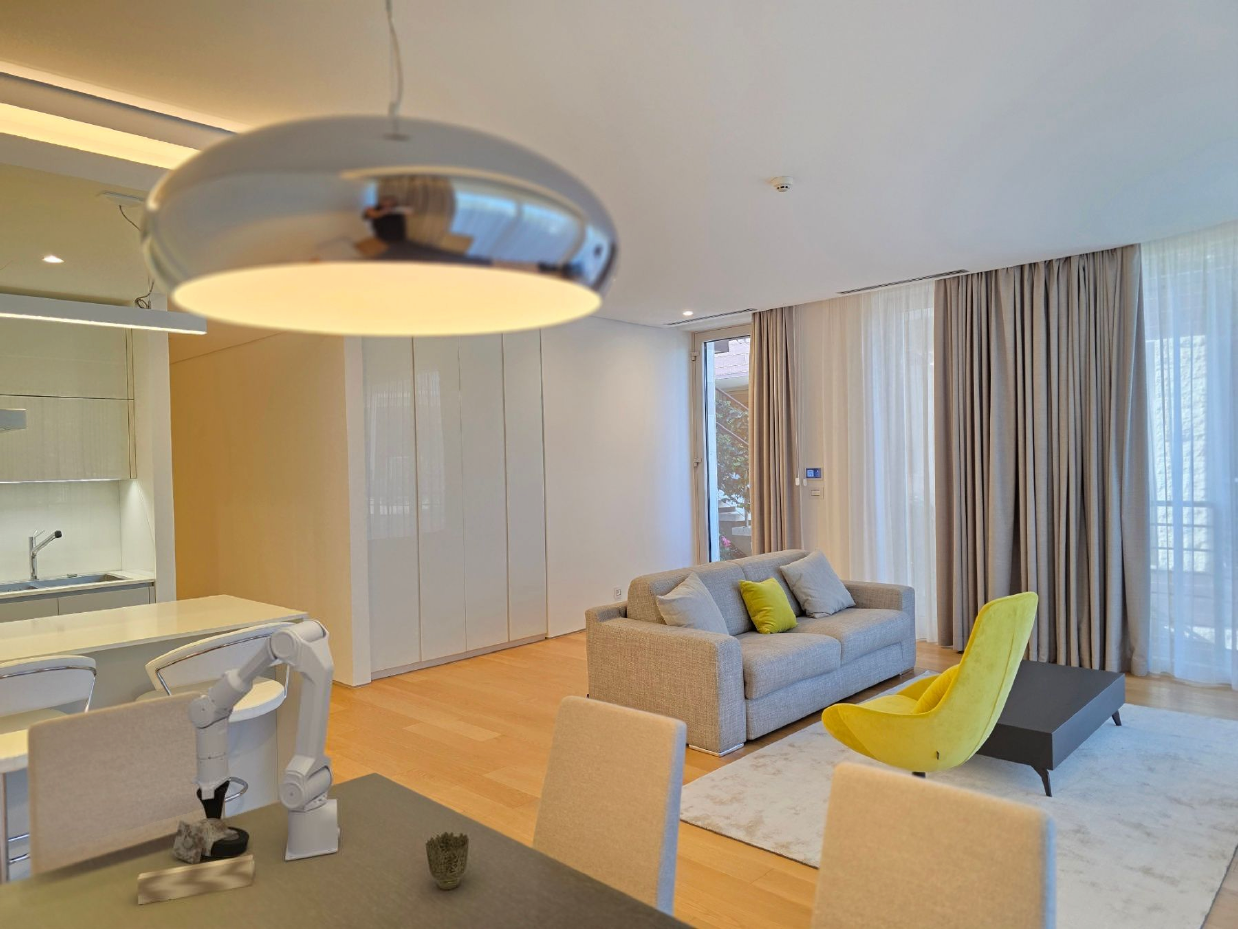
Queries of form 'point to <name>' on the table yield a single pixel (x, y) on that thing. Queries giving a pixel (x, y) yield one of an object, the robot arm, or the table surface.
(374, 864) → the table surface
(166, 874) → the bar
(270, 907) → the table surface
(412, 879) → the table surface
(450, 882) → the cup
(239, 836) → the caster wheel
